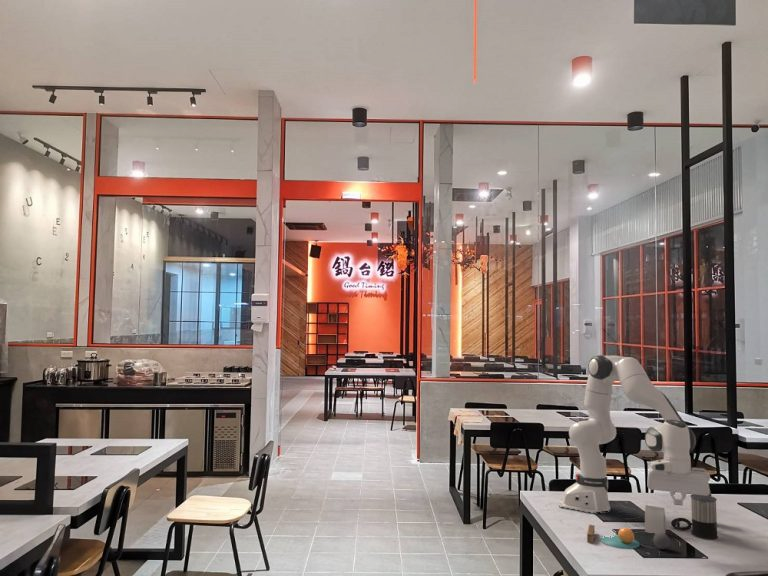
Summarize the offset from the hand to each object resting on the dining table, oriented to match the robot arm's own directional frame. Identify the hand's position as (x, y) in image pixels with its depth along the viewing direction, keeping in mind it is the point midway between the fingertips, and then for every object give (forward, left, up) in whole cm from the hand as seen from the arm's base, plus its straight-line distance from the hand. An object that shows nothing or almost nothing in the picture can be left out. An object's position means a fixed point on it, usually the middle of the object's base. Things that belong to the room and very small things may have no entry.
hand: (678, 504), depth 205 cm
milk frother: (+7, +25, -16) cm, 31 cm away
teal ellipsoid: (-20, 0, -16) cm, 26 cm away
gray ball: (-6, -1, -13) cm, 15 cm away
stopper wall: (-30, 0, -16) cm, 34 cm away
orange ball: (-18, 0, -13) cm, 22 cm away
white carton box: (-7, +18, -16) cm, 25 cm away
